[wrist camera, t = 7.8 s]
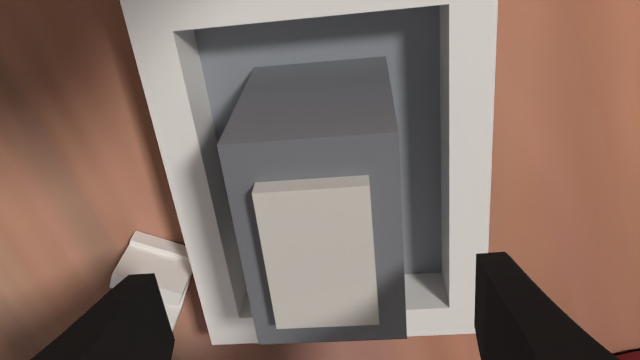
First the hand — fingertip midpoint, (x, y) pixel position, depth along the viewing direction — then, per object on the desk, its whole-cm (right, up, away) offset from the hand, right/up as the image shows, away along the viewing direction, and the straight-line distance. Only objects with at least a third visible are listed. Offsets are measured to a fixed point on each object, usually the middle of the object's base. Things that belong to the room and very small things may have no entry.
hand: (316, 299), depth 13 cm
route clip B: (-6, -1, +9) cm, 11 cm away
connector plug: (0, +4, +6) cm, 7 cm away
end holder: (0, +4, +6) cm, 7 cm away
